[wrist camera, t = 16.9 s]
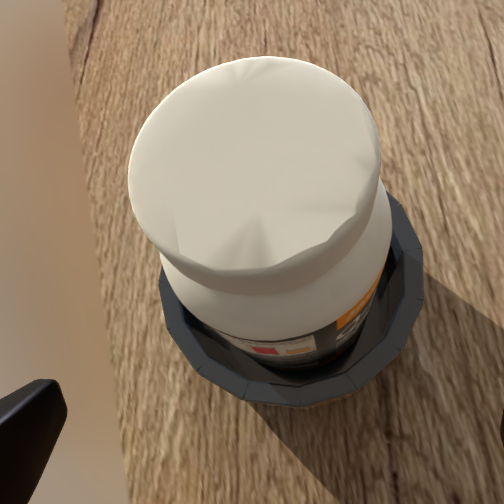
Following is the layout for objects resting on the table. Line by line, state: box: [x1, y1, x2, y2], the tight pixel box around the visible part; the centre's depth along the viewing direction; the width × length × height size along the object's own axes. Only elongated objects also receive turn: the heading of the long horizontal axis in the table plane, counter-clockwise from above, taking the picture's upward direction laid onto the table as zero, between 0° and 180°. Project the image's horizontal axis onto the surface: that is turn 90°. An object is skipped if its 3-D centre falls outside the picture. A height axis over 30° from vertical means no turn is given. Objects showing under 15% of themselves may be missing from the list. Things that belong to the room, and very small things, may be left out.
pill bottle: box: [128, 56, 392, 371], centre depth 12 cm, size 6×6×10 cm
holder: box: [158, 190, 424, 410], centre depth 15 cm, size 8×8×4 cm
